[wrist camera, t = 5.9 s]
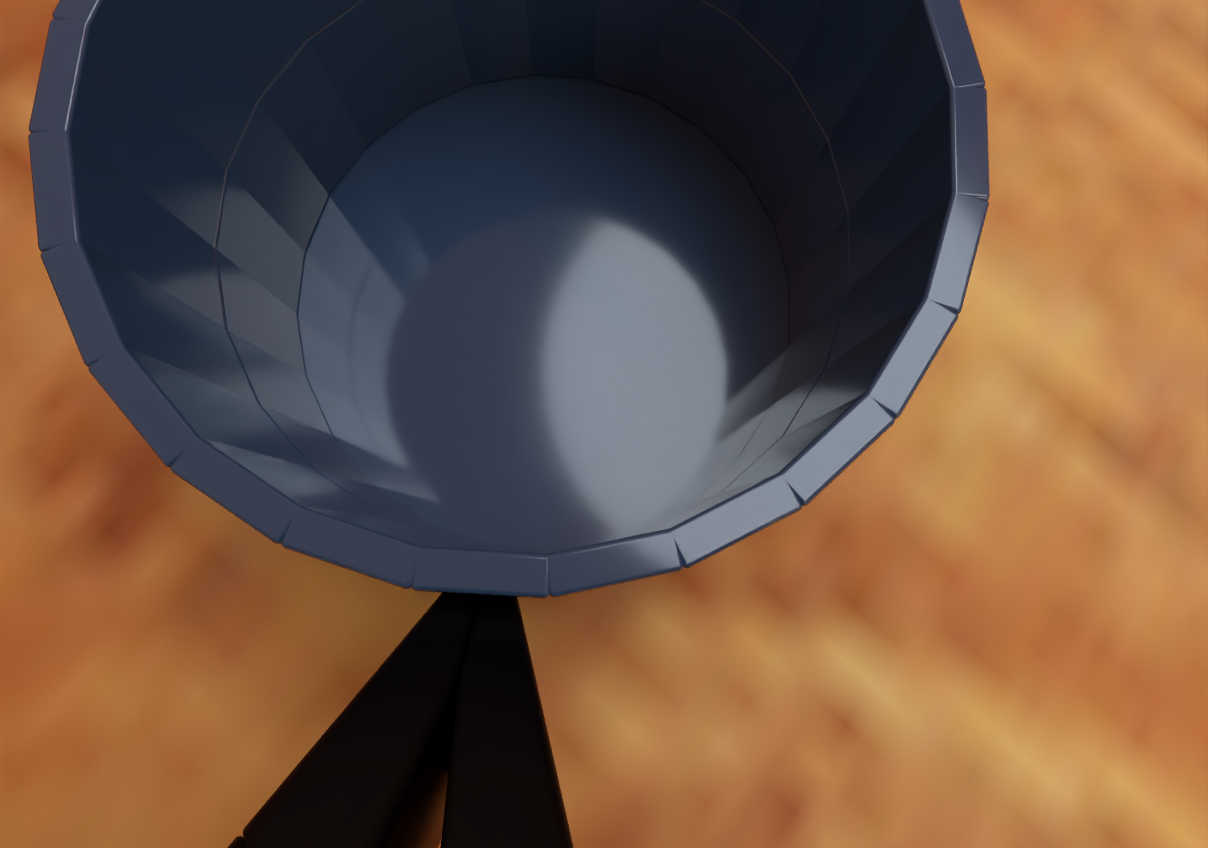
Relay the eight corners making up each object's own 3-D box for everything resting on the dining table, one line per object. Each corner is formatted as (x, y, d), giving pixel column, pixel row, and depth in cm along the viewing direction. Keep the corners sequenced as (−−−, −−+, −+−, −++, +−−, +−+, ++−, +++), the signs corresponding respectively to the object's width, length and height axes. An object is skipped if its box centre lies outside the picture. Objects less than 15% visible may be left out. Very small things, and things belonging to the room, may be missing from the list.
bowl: (895, 422, 17) (1169, 318, 9) (418, 667, 16) (257, 792, 8) (657, 2, 18) (715, -401, 11) (207, 195, 17) (-107, -96, 9)
